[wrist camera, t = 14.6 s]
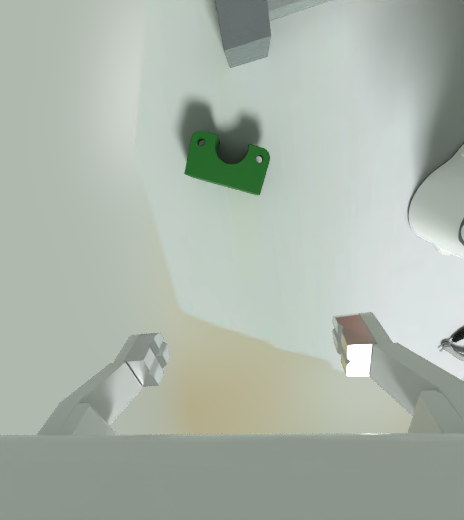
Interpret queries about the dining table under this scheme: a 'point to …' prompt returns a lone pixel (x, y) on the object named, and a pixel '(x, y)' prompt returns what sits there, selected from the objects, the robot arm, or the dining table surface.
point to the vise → (252, 25)
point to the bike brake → (449, 348)
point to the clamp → (226, 165)
